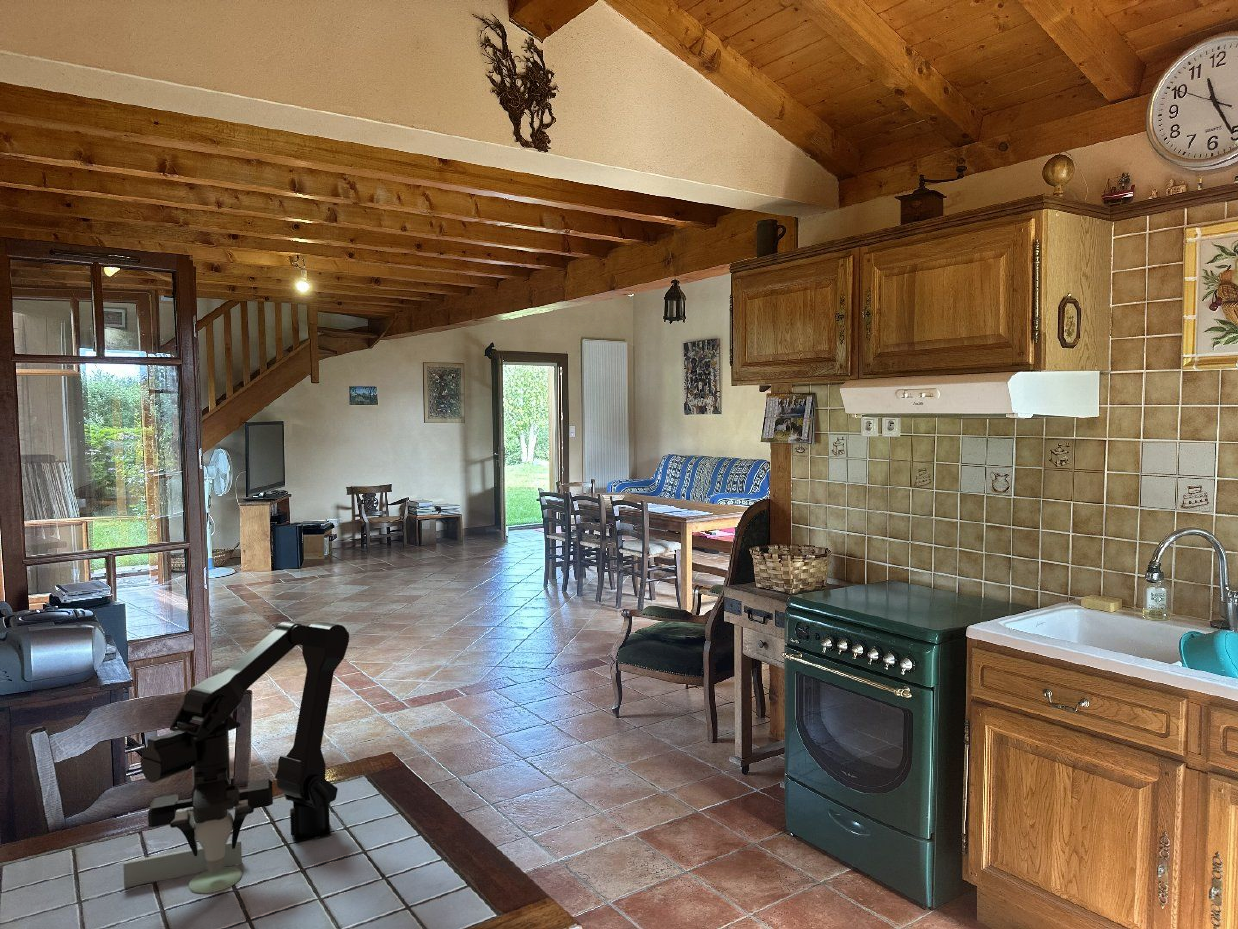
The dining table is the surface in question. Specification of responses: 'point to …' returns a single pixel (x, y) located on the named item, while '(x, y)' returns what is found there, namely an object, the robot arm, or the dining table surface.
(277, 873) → the dining table surface
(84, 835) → the dining table surface
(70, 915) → the dining table surface
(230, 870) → the pad
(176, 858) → the grey-green flat bar
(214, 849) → the lightbulb
